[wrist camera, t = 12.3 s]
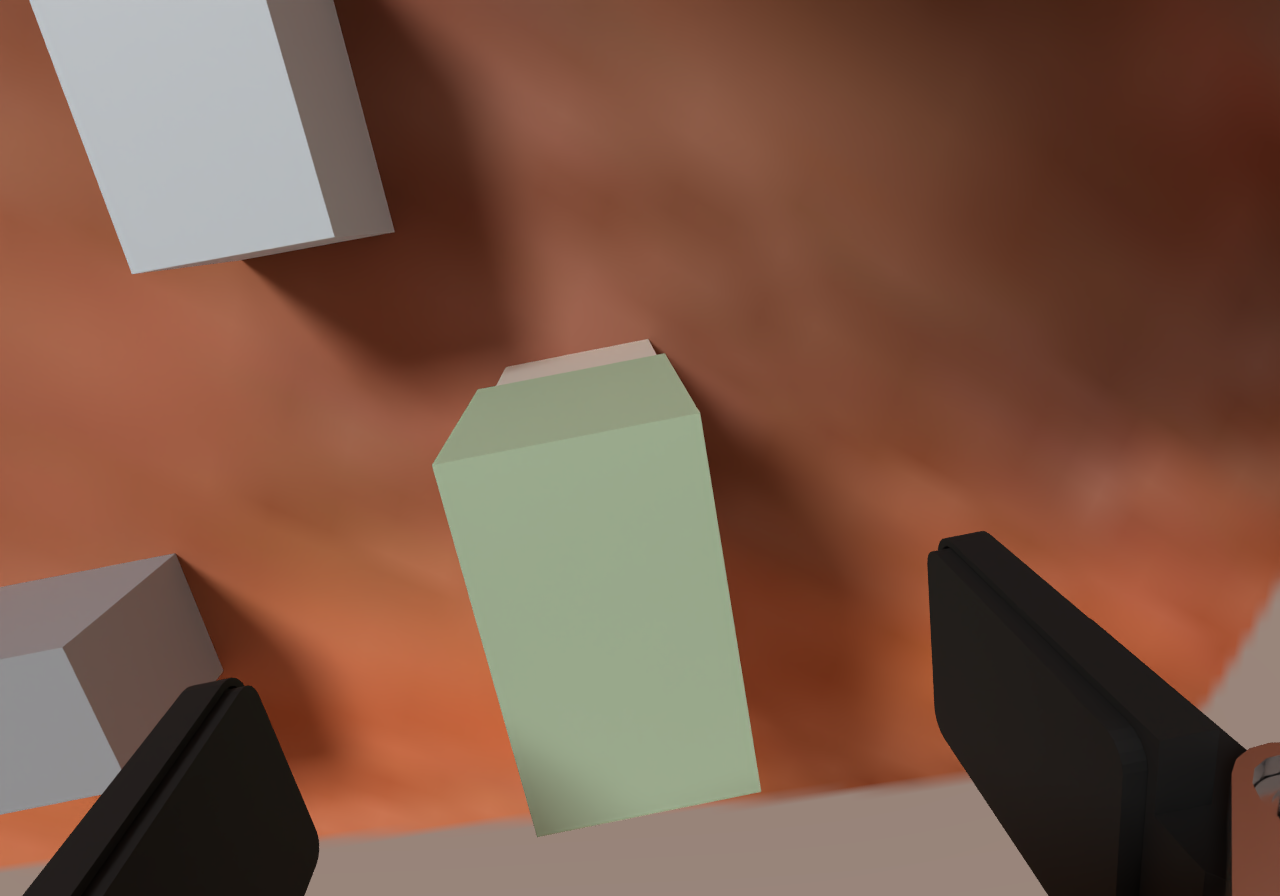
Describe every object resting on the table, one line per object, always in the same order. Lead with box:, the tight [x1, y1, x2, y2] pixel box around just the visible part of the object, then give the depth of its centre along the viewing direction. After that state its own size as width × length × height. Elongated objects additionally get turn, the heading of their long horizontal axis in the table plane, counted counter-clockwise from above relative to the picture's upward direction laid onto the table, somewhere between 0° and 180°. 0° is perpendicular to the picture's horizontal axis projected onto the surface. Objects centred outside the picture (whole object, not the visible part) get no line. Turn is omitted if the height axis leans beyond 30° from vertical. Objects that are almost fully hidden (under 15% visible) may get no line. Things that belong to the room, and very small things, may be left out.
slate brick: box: [0, 553, 223, 814], centre depth 20 cm, size 7×4×5 cm, turn 100°
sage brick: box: [432, 353, 761, 837], centre depth 14 cm, size 7×4×5 cm, turn 10°
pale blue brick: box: [30, 0, 395, 274], centre depth 16 cm, size 7×4×5 cm, turn 10°
